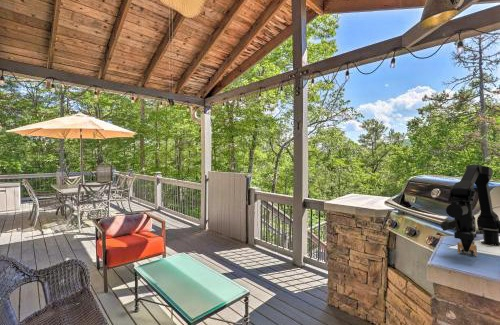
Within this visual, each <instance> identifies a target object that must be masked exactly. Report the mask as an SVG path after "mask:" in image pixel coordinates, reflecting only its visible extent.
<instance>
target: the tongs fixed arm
mask: <svg viewBox="0 0 500 325" xmlns="http://www.w3.org/2000/svg"><path fill="white" fill-rule="evenodd" d="M472 244H475V241H474V240H473V242H472ZM475 245H476V244H475ZM461 255H463V256H467V257H472V256H474V255H475V251H473V250H469V251H468V252H465V251H464V249H461Z"/></svg>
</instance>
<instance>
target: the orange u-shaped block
mask: <svg viewBox="0 0 500 325" xmlns="http://www.w3.org/2000/svg"><path fill="white" fill-rule="evenodd" d="M456 245H457V254H458V255H460V254H461V250H462V249H464V248H463V245H462V243H461V242H457V244H456ZM469 250H473V251H474V256H475V257H478V250H477V244H471V246H470V248H469Z"/></svg>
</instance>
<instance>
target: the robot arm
mask: <svg viewBox="0 0 500 325" xmlns="http://www.w3.org/2000/svg"><path fill="white" fill-rule="evenodd" d="M464 171H465V172H464V173H463V175H462V177H461V179H460V181H457V182H455V183H454V185H453V186H451V188H450V191H449V195H448V200H447V201H448V202H450V203H451V204H449V205H447V206H446V208H445V212H446V214H447V215H448V217H451V218H453V219H450V220H445V221H444V220H443V221H442V222H440V223H439V226H440V228H441V229H442V232H445V231H447V230H453V229H454V230H455V231H454V233H453V236H454V239H458V240H461V241H460V243H461V242H462V245H463V248H464V251H465V252H468V251H469V248H470V246H471V244H472V242H473V241H474V240H475V237H474V236H475V235H474V233H473V232H475V227H474V226H473V215H474V214H473V202H474V201H475V198H476V195H477V197H478V204H479V210H480V214H479V215H478V216H477V219H476V226H477V229H478V231H481V232H482V236H483V240H482V241H481V242H480V244H484V245H489V246H495V247H496V246H500V235H499V234H500V218H499V215H498V214H497V213H496V212H495V211H494V210H493V208H494V207H493V204H492V197H491V191H490V190H491V189H490V185H489V183H490V181H491V179H492V178H493V174H494V172H493V169H492V168H491V167H489V166H487V165H486V166H485V165H482V164H479V163H478V164H467V165H466V166H465V170H464ZM474 186H476V190H475V188H474ZM472 231H473V232H472Z"/></svg>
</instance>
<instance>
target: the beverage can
mask: <svg viewBox="0 0 500 325" xmlns="http://www.w3.org/2000/svg"><path fill="white" fill-rule="evenodd" d="M473 226H474V227H475V232H473V231H472V232H473V233H474V235H475V236H474V238H476V237H477V221H476V217H475V214H473Z"/></svg>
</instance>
